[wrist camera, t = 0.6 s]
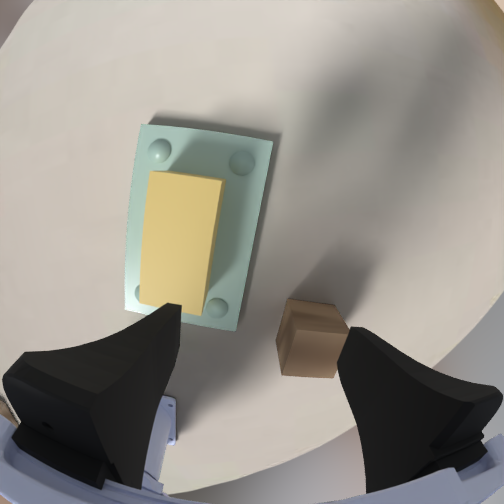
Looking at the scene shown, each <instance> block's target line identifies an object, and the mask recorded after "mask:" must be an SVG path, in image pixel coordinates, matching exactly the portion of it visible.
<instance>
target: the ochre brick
mask: <svg viewBox="0 0 504 504" xmlns="http://www.w3.org/2000/svg"><path fill="white" fill-rule="evenodd" d="M225 184H226V179H222V178H216V177H210V176H203V175H197V174H190V173H183V172H175V171H168V170H166V171H150V173H149V180H148V188H147V195H146V204H145V213H144V223H143V234H142V247H141V264H140V290H139V303H140V304H145V305H149V306H154V307H158V308H160V307H161V306H163V305H164V304H166V303H167V302H168V303H173V304H178V305H182V312H183V313H188V314H193V315H198V316H201V315H202V312H203V308H204V305H205V301H206V298H207V294H208V289H209V282H210V276H211V269H212V262H213V256H214V249H215V243H216V237H217V230H218V224H219V218H220V212H221V207H222V201H223V195H224V190H225Z"/></svg>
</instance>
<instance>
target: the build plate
mask: <svg viewBox="0 0 504 504" xmlns="http://www.w3.org/2000/svg"><path fill="white" fill-rule="evenodd" d="M272 146H273V141H268V140H263V139H257V138H252V137H247V136H241V135H235V134H229V133H222V132H215V131H208V130H200V129H192V128H183V127H173V126H161V125H148V124H141V128H140V133H139V138H138V144H137V149H136V155H135V162H134V168H133V175H132V183H131V191H130V200H129V210H128V221H127V235H126V254H125V310H129V311H133V312H137V313H142V314H146V315H149V314H151V313H152V312H154V311H155V310H157V309H158V307H154V306H149V305H145V304H140V303H139V290H140V264H141V247H142V234H143V223H144V213H145V204H146V195H147V188H148V180H149V173H150V171H166V170H168V171H175V172H183V173H190V174H197V175H203V176H210V177H216V178H222V179H226V184H225V190H224V195H223V201H222V207H221V212H220V218H219V224H218V230H217V237H216V243H215V249H214V256H213V262H212V269H211V276H210V282H209V289H208V294H207V298H206V301H205V305H204V308H203V312H202V315H201V316H198V315H193V314H188V313H183V312H181V322H183V323H188V324H194V325H199V326H204V327H210V328H216V329H222V330H228V331H234V332H236V328H237V323H238V318H239V313H240V308H241V302H242V297H243V292H244V287H245V282H246V277H247V272H248V267H249V262H250V257H251V252H252V247H253V242H254V237H255V232H256V227H257V222H258V217H259V211H260V206H261V201H262V196H263V191H264V186H265V181H266V176H267V171H268V166H269V161H270V156H271V151H272Z"/></svg>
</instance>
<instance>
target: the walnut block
mask: <svg viewBox="0 0 504 504" xmlns="http://www.w3.org/2000/svg"><path fill="white" fill-rule="evenodd" d="M349 331H350V330H349V328H348V326H347V325H346V323H345V321H344V320H343V318H342V317H341V315H340V313H339V312H338V310H337V308H336V307H335V305H330V304H323V303H315V302H308V301H301V300H294V299H287V302H286V305H285V309H284V313H283V316H282V320H281V324H280V327H279V331H278V334H277V338H276V345H277V351H278V356H279V362H280V368H281V374H282V375H284V376H298V377H315V378H334V376H335V373H336V371H337V369H338V368H337V361H338V358H339V356H340V353H341V351H342V348H343V346H344V343H345V341H346V338H347V336H348V333H349Z"/></svg>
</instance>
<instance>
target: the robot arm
mask: <svg viewBox="0 0 504 504" xmlns="http://www.w3.org/2000/svg"><path fill="white" fill-rule="evenodd" d="M181 312H182V305H178V304H173V303H168V302H167V303H166V304H164V305H163V306H161V307H160V308H158V309H157V310H155V311H154V312H152V313H151V314H149V315H148V316H146V317H145V318H143V319H141V320H140V321H138V322H136V323H134V324H133V325H131V326H129V327H127V328H125V329H123V330H121V331H119V332H117V333H115V334H113V335H110V336H108V337H105V338H103V339H100V340H97V341H94V342H90V343H87V344H83V345H80V346H76V347H71V348H65V349H59V350H51V351H35V352H24V353H23V354H22V355H21V356H20V358H19V359H18V360H17V361H16V362H15V363H14V364H13V365H12V366H11V367H10V368H9V369H8V371H7V372H6V373H5V374H4V375H3V379H2V382H3V388H4V391H5V393H6V395H7V398H8V399H9V401H10V403H11V405H12V407H13V409H14V410H15V412H16V414H17V416H18V417H19V419H20V421H21V423H20V425H19V426H18V428H16V426H15V425H14V424H13V423H12V422H10V421H9V420H8V419H6V418H5V417H4V416H2V415H1V414H0V495H2V496H3V497H4V498H6V499H7V500H8V501H10V502H11V503H12V504H210V503H202V502H195V501H189V500H183V499H177V498H172V497H169V496H168V495H167V494H166V493H164V492H162V490H163V485H164V484H162V483H160V482H158V480H159V477H160V472H161V468H162V463H163V459H164V455H165V450H166V446H167V444H169V445H175V443H176V400H175V399H174V398H172V397H168V396H163V393H164V391H165V388H166V386H167V383H168V381H169V378H170V376H171V373H172V371H173V368H174V366H175V362H176V358H177V354H178V350H179V346H180V328H181ZM337 368H338V373H339V377H340V381H341V384H342V387H343V389H344V392H345V395H346V397H347V400H348V402H349V405H350V407H351V410H352V413H353V415H354V418H355V421H356V424H357V427H358V432H359V436H360V440H361V445H362V452H363V458H364V465H365V476H366V494H364V495H359V496H355V497H351V498H348V499H343V500H338V501H331V502H324V503H317V504H480V503H481V502H483V501H484V500H486V499H487V498H488V497H489V496H491V495H492V494H493V493H495V492H496V491H497V490H498V489H499V488H501V487H502V486H503V485H504V436H503V435H502V434H498V435H497V436H495V437H493V438H492V439H490V440H488V441H487V442H486V443H485V444H484V445H483V444H482V442H481V439H483V438H484V434H483V433H482V430H483V428H484V427H485V426H486V425H487V424H488V422H489V421H490V420H491V418H492V417H493V416H494V415H495V413H496V412H497V410H498V409H499V407H500V405H501V403H502V400H503V395H502V393H501V392H500V391H499V390H498V389H497V388H496V387H494V386H489V385H483V384H477V383H471V382H467V381H464V380H460V379H457V378H453V377H451V376H448V375H445V374H442V373H440V372H438V371H435V370H433V369H431V368H429V367H427V366H425V365H423V364H421V363H419V362H417V361H416V360H414V359H412V358H411V357H409V356H407V355H406V354H404V353H402V352H401V351H399V350H398V349H396V348H395V347H393V346H392V345H390V344H389V343H387V342H386V341H384V340H383V339H381V338H380V337H378V336H377V335H375V334H374V333H372V332H371V331H369V330H367V329H365V328H363V327H351V328H350V331H349V333H348V336H347V338H346V341H345V343H344V346H343V348H342V351H341V353H340V356H339V358H338V361H337ZM171 404H172V405H171Z"/></svg>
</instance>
